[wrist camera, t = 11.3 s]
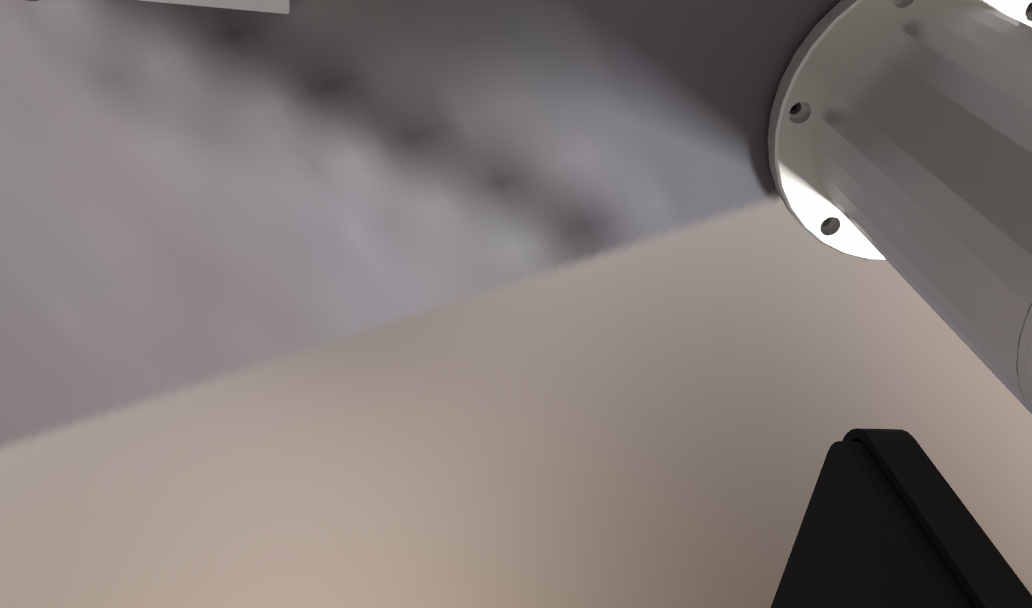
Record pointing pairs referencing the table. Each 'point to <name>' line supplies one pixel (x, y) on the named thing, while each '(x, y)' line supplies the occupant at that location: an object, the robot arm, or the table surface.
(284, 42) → the table surface
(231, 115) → the table surface
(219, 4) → the chassis
